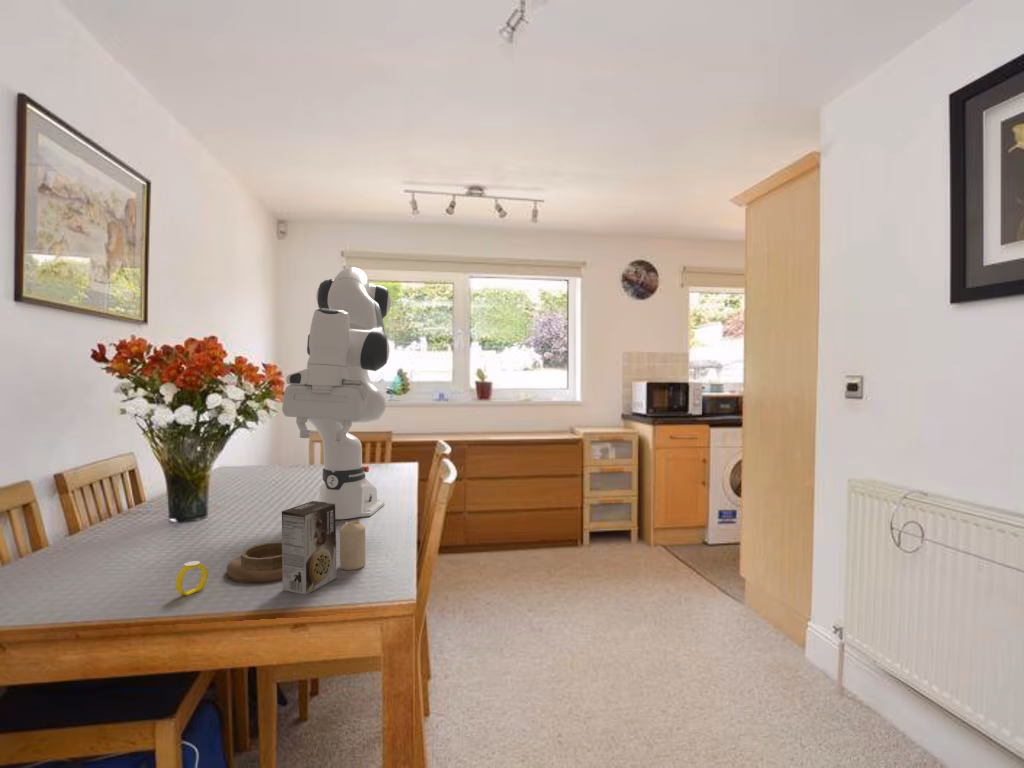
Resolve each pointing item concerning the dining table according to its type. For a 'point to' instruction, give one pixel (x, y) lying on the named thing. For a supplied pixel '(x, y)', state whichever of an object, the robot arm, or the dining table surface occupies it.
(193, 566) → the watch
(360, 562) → the candle
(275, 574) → the candle plate
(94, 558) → the dining table surface
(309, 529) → the coffee box
